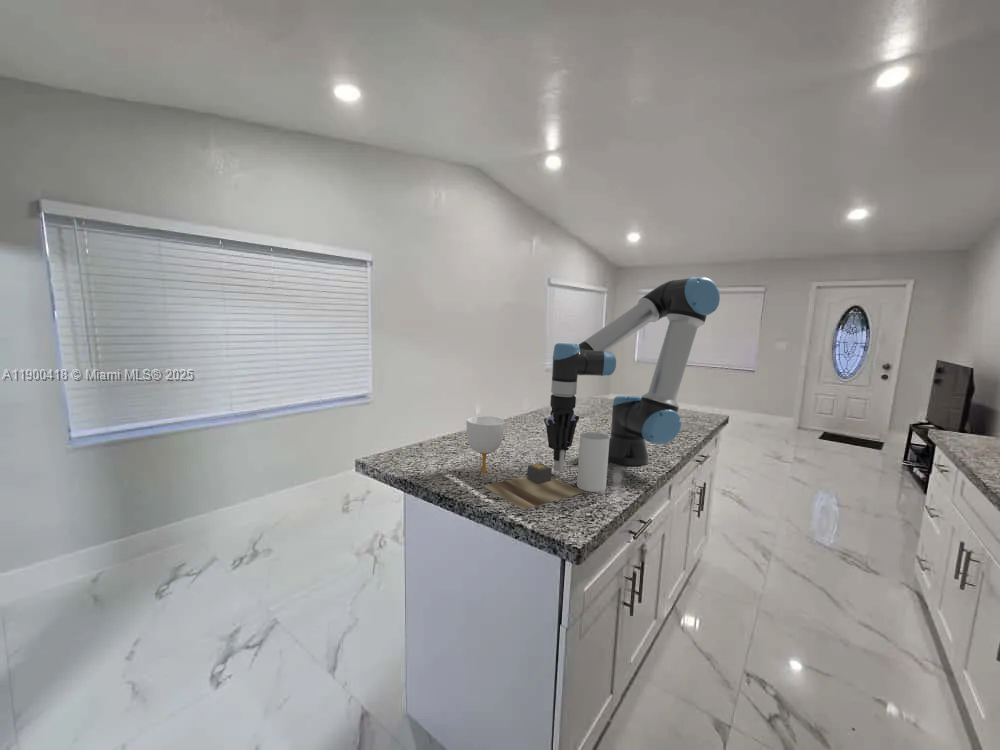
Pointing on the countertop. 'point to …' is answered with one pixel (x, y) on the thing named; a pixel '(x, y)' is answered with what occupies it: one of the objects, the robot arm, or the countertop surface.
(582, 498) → the countertop surface
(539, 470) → the dark grey box
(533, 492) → the panel
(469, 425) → the cup
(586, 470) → the cup
